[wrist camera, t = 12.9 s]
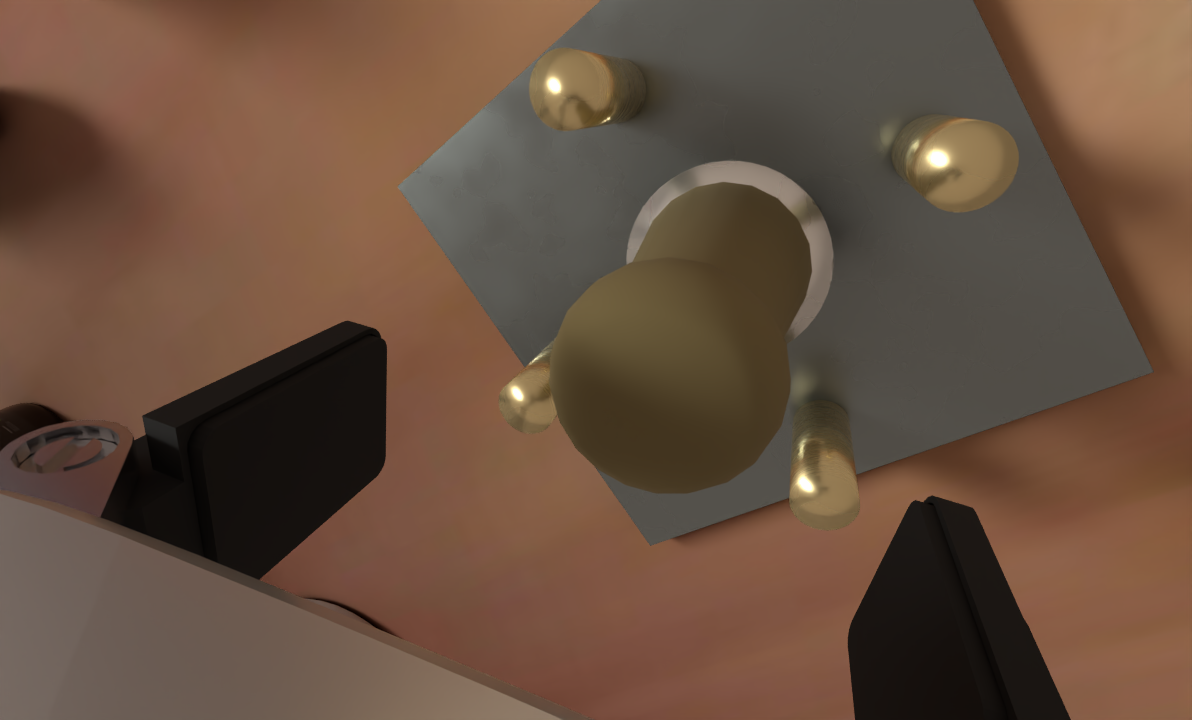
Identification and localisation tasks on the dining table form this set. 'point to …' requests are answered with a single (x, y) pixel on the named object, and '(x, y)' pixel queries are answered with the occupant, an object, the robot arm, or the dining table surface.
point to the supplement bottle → (23, 421)
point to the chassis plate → (824, 209)
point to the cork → (686, 343)
